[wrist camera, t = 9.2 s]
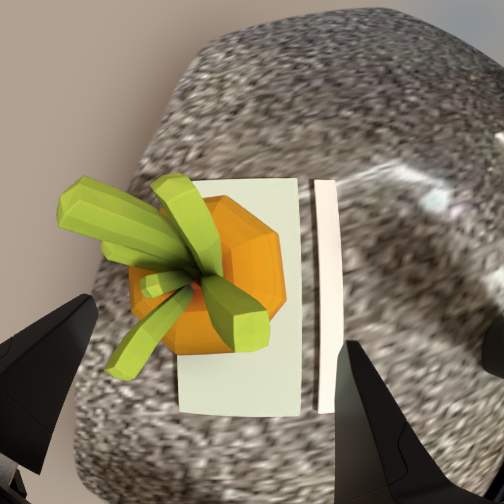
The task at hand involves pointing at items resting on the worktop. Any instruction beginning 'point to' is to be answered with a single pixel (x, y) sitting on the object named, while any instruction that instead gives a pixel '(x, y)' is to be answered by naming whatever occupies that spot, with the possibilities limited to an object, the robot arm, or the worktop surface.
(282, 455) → the worktop surface
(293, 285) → the mat
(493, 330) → the drinking cup
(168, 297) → the carrot
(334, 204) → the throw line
